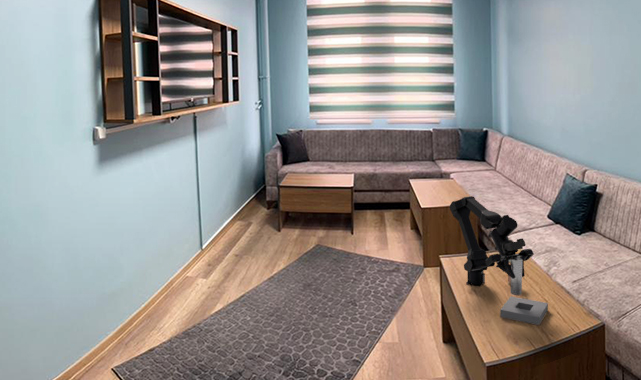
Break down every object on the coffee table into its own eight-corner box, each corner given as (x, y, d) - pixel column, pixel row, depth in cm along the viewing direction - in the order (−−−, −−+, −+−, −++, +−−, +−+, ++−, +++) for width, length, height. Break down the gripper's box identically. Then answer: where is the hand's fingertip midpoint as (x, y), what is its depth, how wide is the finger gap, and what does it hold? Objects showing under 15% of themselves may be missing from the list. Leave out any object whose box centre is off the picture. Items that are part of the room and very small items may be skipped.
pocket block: (500, 316, 196) (500, 309, 195) (510, 303, 207) (510, 296, 206) (539, 325, 188) (539, 317, 187) (547, 310, 199) (548, 303, 198)
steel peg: (509, 294, 200) (510, 260, 197) (512, 290, 203) (513, 256, 200) (520, 296, 198) (520, 261, 195) (522, 292, 201) (523, 258, 198)
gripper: (490, 235, 197) (507, 272, 189) (531, 229, 202) (550, 264, 194) (478, 248, 206) (494, 284, 198) (518, 242, 211) (535, 277, 203)
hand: (518, 277), depth 198 cm, fingers closed on steel peg, 4 cm apart
